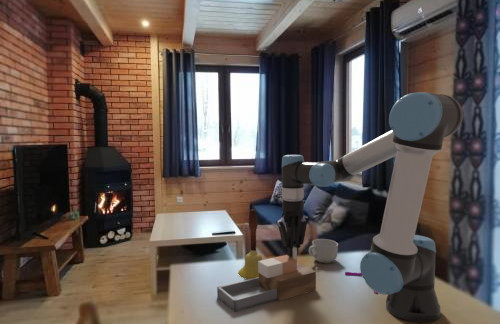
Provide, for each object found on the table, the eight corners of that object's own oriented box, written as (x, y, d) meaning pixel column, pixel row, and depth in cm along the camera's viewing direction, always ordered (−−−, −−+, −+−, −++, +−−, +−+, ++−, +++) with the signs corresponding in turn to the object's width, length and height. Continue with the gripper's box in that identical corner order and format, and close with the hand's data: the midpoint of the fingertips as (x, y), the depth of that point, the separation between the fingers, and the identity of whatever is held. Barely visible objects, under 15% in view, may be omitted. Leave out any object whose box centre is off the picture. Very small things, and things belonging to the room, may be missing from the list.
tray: (277, 299, 124) (277, 289, 123) (234, 311, 116) (234, 300, 115) (257, 286, 134) (257, 277, 134) (217, 297, 126) (217, 287, 126)
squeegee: (344, 259, 157) (369, 261, 155) (344, 263, 157) (369, 265, 155) (346, 289, 129) (377, 291, 127) (346, 294, 129) (377, 296, 127)
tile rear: (296, 271, 131) (296, 259, 131) (282, 274, 128) (282, 262, 128) (286, 265, 136) (286, 254, 136) (272, 268, 133) (272, 257, 133)
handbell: (276, 273, 147) (275, 209, 145) (252, 282, 138) (251, 214, 136) (254, 265, 156) (253, 205, 154) (231, 272, 147) (230, 209, 145)
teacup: (328, 255, 167) (328, 237, 166) (343, 263, 157) (343, 244, 156) (300, 259, 162) (300, 241, 161) (314, 267, 152) (314, 248, 151)
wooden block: (315, 290, 131) (315, 271, 130) (280, 300, 123) (280, 281, 122) (293, 277, 142) (293, 260, 141) (259, 286, 134) (258, 268, 134)
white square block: (282, 274, 128) (282, 262, 127) (267, 278, 125) (267, 266, 125) (272, 269, 133) (272, 257, 133) (258, 272, 130) (258, 261, 130)
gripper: (301, 195, 138) (301, 258, 140) (271, 199, 132) (271, 265, 134) (314, 198, 132) (314, 264, 134) (283, 202, 125) (283, 272, 127)
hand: (293, 264), depth 134 cm, fingers closed
